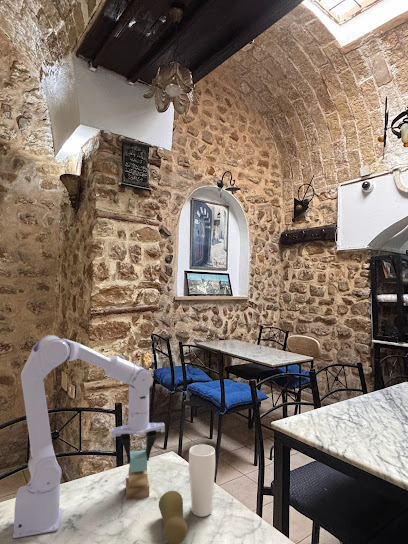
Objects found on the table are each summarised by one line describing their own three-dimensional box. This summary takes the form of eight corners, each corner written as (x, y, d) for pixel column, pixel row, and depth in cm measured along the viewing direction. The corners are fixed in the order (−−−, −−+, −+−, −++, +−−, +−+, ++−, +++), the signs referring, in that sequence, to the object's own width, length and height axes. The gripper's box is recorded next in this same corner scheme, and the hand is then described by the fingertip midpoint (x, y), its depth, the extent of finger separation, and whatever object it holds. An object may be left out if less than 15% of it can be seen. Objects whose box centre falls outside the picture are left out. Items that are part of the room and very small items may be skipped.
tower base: (126, 501, 89) (126, 489, 89) (125, 489, 95) (125, 478, 95) (149, 497, 91) (149, 486, 91) (147, 485, 96) (147, 474, 97)
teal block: (130, 472, 91) (130, 459, 91) (129, 464, 95) (129, 451, 95) (146, 470, 92) (147, 457, 92) (145, 462, 96) (145, 449, 96)
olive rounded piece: (175, 518, 83) (182, 554, 72) (154, 510, 82) (157, 545, 71) (187, 495, 84) (195, 527, 73) (165, 487, 83) (170, 518, 72)
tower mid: (128, 487, 90) (128, 476, 91) (128, 477, 95) (128, 466, 95) (147, 485, 91) (147, 473, 92) (146, 475, 96) (146, 464, 96)
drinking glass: (197, 523, 80) (198, 458, 81) (183, 508, 86) (184, 448, 87) (220, 513, 84) (220, 451, 85) (205, 499, 89) (205, 441, 90)
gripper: (112, 417, 89) (111, 471, 88) (166, 412, 93) (166, 463, 92) (112, 409, 95) (111, 458, 95) (162, 404, 99) (162, 452, 99)
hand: (138, 460), depth 94 cm, fingers closed on teal block, 4 cm apart
